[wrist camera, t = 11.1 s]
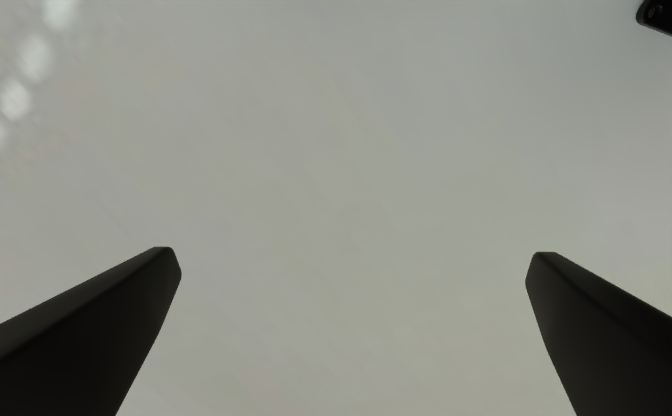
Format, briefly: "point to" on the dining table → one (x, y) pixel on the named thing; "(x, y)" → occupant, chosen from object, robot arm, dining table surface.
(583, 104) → the dining table surface
